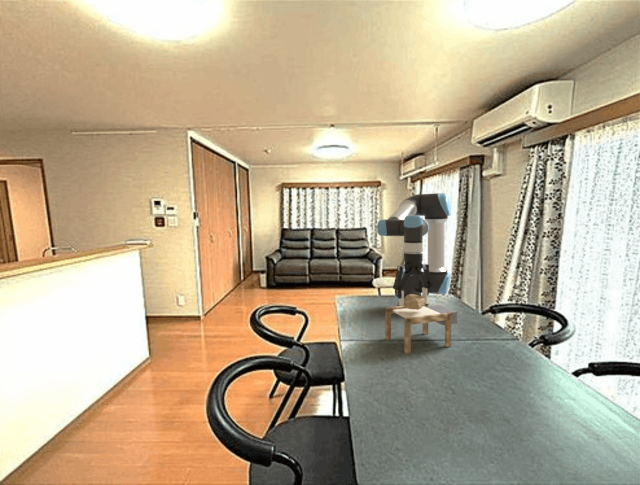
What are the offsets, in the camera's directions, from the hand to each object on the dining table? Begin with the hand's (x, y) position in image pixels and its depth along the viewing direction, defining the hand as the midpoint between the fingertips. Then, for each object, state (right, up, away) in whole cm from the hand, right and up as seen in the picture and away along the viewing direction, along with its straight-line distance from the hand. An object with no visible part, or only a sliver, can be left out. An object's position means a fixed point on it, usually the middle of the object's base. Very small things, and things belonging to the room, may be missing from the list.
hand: (413, 304), depth 150 cm
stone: (0, -1, -1) cm, 2 cm away
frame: (+2, -17, +2) cm, 17 cm away
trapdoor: (+6, -8, +2) cm, 10 cm away
